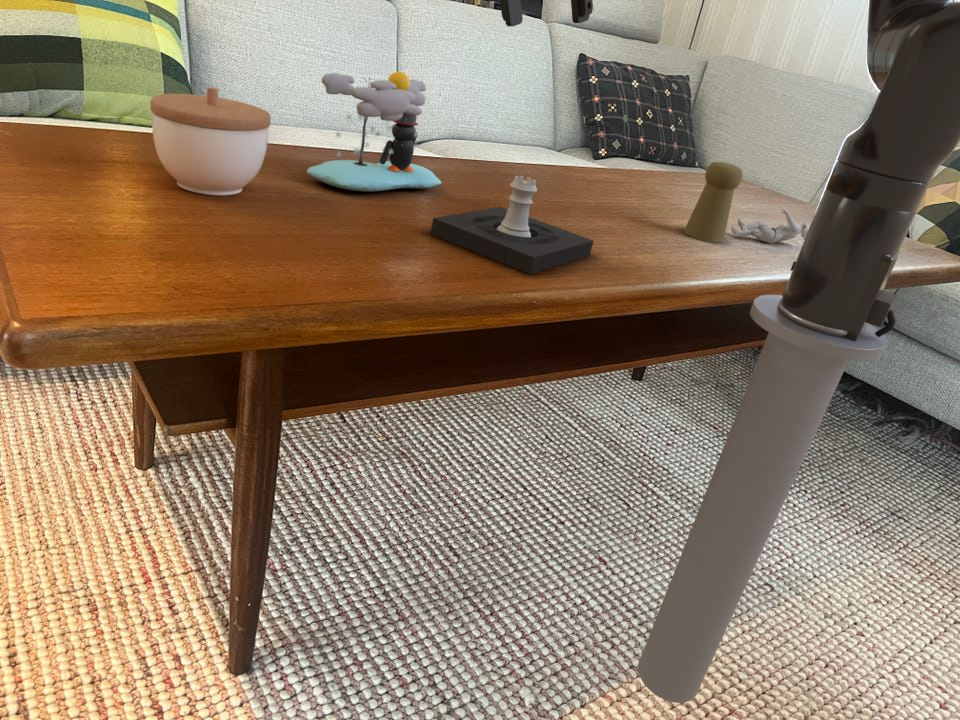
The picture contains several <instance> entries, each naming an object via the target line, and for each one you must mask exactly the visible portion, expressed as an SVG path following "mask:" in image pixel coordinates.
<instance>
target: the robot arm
mask: <svg viewBox="0 0 960 720" xmlns="http://www.w3.org/2000/svg"><path fill="white" fill-rule="evenodd" d="M521 1H522V0H499V3H500V12H501V17H502V21H504V22H505V26H506V27H515V26H518V25H520V24H522V23H523V19H524V18H523V9H522V2H521ZM570 6H571V20H572V23H573V24H582V23H584V22H587V21H589V19H590V15H592V14H593V10H594V2H593V0H570ZM867 15H868V16H867V17H868V18H867V31H866V32H867V33H866V50H865V51H866V53H865V57H866V59H865V60H866V69H867V73H868V77H869V79H870V81H871V83H872V84H873V86H874V87H875V89H876V90H877V91H878V95H877V97H876V100H875V102H874V104H873V106H872V108H871V111H870V112H869V115H868V116H867V118H866V119H865V120H864V122H863V123H862V124H861V125H860V126H859V127H858V128H857V129H855V130H853V131H852V132H850V133H849V134H848V135H847V136H846V137H845V139H844V140H843V142H842V144H841V147H840V149H839V152H838V153H837V154H838V155H837V156H836V160H835V162H834V164H833V167H832V168H831V172H830V175H829V177H828V180H827V182H826V184H825V187H824V190H823V192H822V194H821V198H820V200H819V203H818V205H817V207H816V210H815V213H814V216H813V218H812V220H811V222H810V224H809V226H810V228H809V230H808V233H807V235H806V238H805V240H804V239H803V244H802V245H801V248H800V250H799V254H798V255H797V258H796V260H795V261H793V262H792V264H791V268H790V272H791V274H790V275H789V279H788V282H787V283H786V286H785V288H784V290H783V292H782V299H781V300H780V301H779V304H778V307H777V309H778V311H779V312H780V313H781V314H782V315H783V316H785V317H786V318H788V319H789V320H791V321H793V322H795V323H797V324H799V325H801V326H804V327H806V328H809V329H811V330H814V331H817V332H820V333H824V334H828V335H832V336H837V337H843V338H847V339H850V340H852V341H857V340H858V338H859V337H860V336H862V334H863V332H864V330H865V329H866V326H867V324H870V325H871V326H873V327H878V328H880V329H877V330H878V331H876V332H875V335H876V336H877V337H880V336H882V335H884V336H885V335H886V334H888V333H890V332H891V331H892V330H893V329H894V328H895V326H896V321H897V320H896V315H895V313H894V310H892V308H893V306H894V304H895V302H896V300H897V298H898V294H895V293H892V292H889V291H886V290H884V289H885V288H886V284H887V283H888V280H889V279H890V276H891V274H892V271H893V270H894V267H895V265H896V263H897V261H898V258H899V257H900V254H901V252H900V250H901V248H902V245H903V244H904V241H905V240H906V237H907V235H908V233H909V230H910V228H911V226H912V224H913V221H914V219H915V217H916V215H917V213H918V211H919V208H920V206H921V204H922V202H923V200H924V198H925V195H926V193H927V191H928V188H929V187H930V183H931V182H932V180H933V179H934V176H935V173H936V172H937V170H938V169H939V168H940V166H941V165H942V164H944V162H945V161H947V160H948V158H949V157H950V156H951V155H952V154H953V153H954V151H955V149H956V148H957V146H958V144H959V143H960V1H955V0H868V14H867ZM886 320H887V324H886V325H885V326H883V324H884V323H885V321H886ZM882 326H883V327H882ZM881 327H882V328H881Z"/></svg>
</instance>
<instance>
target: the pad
mask: <svg viewBox="0 0 960 720" xmlns="http://www.w3.org/2000/svg"><path fill="white" fill-rule="evenodd" d="M507 211H508V208H505V207H502V206H497V207H492V208H485V209H479V210H473V211H467V212H461V213H453V214H448V215H443V216H435V217H433V218H432V224H431V229H430V235H432V236H434V237H436V238H439V239H441V240H443V241H446V242H449V243H451V244H454V245H456V246H459V247H461V248H463V249H466V250H468V251H470V252H472V253H475V254H478V255H479V256H480V255H481V256H483V257H485V258H488V259H490V260H492V261H494V262H497V263H500V264H502V265H505V266H508V267H510V268H513V269H515V270H517V271H519V272H522V273H525V274H527V275H534V274H537V273H540V272H544V271H546V270H549V269H553V268H555V267H558V266H563V265H565V264H569V263H571V262H574V261H575V262H576V261H578V260H582V259H585V258H588V257H590V256H591V253H592V249H593V245H594V240H593V239H591V238H587V237H585V236H583V235H580V234H577V233H574V232H571V231H569V230H566V229H563V228H560V227H558V226H555V225H552V224H549V223H546V222H544V221H541V220H538V219H536V218H533V217H530V216H529V217H528V227H529V232H530V233H531V237H519V236H514V235H510V234H506V233H503V232H501V231H498V230H497V227H499V226H500V225H501V222H502V221H503V220H504V218H505V216H506V213H507Z"/></svg>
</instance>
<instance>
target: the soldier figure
mask: <svg viewBox="0 0 960 720" xmlns="http://www.w3.org/2000/svg"><path fill="white" fill-rule="evenodd" d="M780 210H782V211H781V213H782V214H784V215H785V218H786V221H787V224H778V226H774V227H770V226H769V225H767V224H766V222H764V221H763V220H757V221H754V222H750V223H745V222H744V221H743V220H742V218H741V217H738V219H737V225H738V227H739V229H740V230H739V229H737V228H735V226H734V225H731V227H730V230H731V233H732V234H733V237H734V238H739V237H740V236H743V237H745V236H752V237H754V238H756V239H757V240H760V241H762V242H764V243H767V244H772V243H777V242H778V243H779V242H784V241H785V242H786V241H789V240H792V239H794V238H796V236H798V235H799V234H800V235H801V237H802V238H803V241H804V240H805V238H806V235H807V233H808V230H809V228H810V224H809V223H808V222H806V221H803V222H802V224H798V223H796V221H795V220H794V218H793V217H792V216H791V214H790V213H789V211H788V210H787V209H786V208H784V207H780Z"/></svg>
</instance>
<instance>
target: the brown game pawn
mask: <svg viewBox="0 0 960 720" xmlns="http://www.w3.org/2000/svg"><path fill="white" fill-rule="evenodd" d="M704 173H705V176H704V179H705V182H706V183H705V185H704V186H703V189H702V192H700V193H701V194H700V196H699V197H698V200H697V201H696V204H695V206H694V209H693V211H692V213H691V215H690V216H689V219H688V221H687V223H686V226H685V228H684V230H683V231H684V234H686V235H687V236H689V237H692V238H694V239H697V240H700V241H703V242H708V243H714V244H722V243H724V242H725V236H726V231H727V227H728V221H729V217H730V213H731V208H732V201H733V197H734V191H735V190H736V189H737V188H738V187H739V186H740V184H741V183H742V180H743V177H744V176H743V174H744V173H743V169H741V168H740V167H739V166H737V165H736V164H733V163H730V162H726V161H713V162H710V164H709V165H708V166H707V167H706V170H705V172H704Z"/></svg>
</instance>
